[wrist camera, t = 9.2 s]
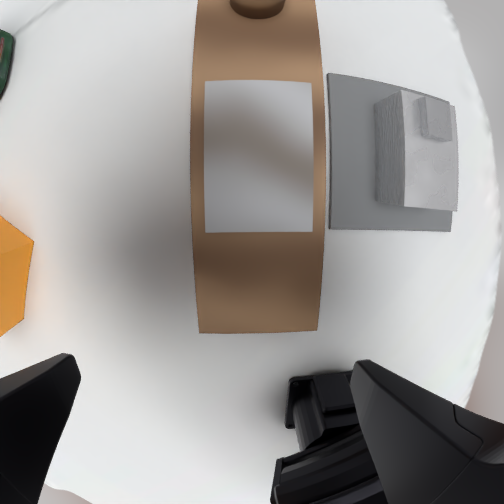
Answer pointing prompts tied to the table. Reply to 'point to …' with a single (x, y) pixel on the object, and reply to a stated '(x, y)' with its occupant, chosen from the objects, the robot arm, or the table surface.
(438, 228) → the rubber mat
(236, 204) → the hand plane
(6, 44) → the coffee jar
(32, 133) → the table surface
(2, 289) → the orange juice
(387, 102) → the lever cap
